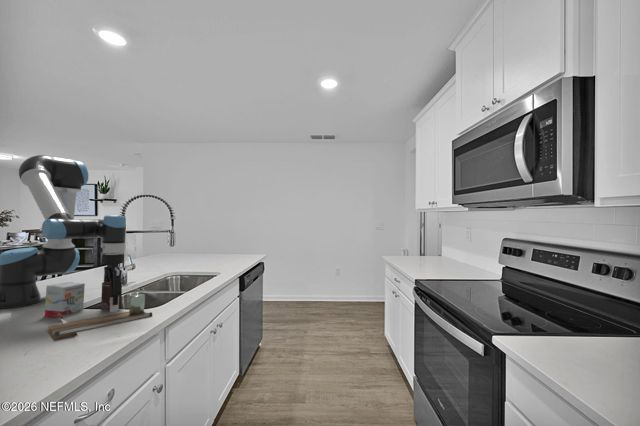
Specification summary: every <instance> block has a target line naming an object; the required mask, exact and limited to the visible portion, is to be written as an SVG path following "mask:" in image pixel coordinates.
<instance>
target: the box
mask: <svg viewBox="0 0 640 426" xmlns="http://www.w3.org/2000/svg"><path fill="white" fill-rule="evenodd" d="M122 287H123V282H122V281H121V295H119V308H118V311H119V310H122V300H123V299H122V294H123V292H122V290H123V288H122ZM116 293H117V292H116ZM109 296H111V281H108V282H104V281H103V282H102V283H101V299H100V300H101V301H100V302H101V303H100V310H101V311H105V312H106V311H107V312H110V297H109Z"/></svg>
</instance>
